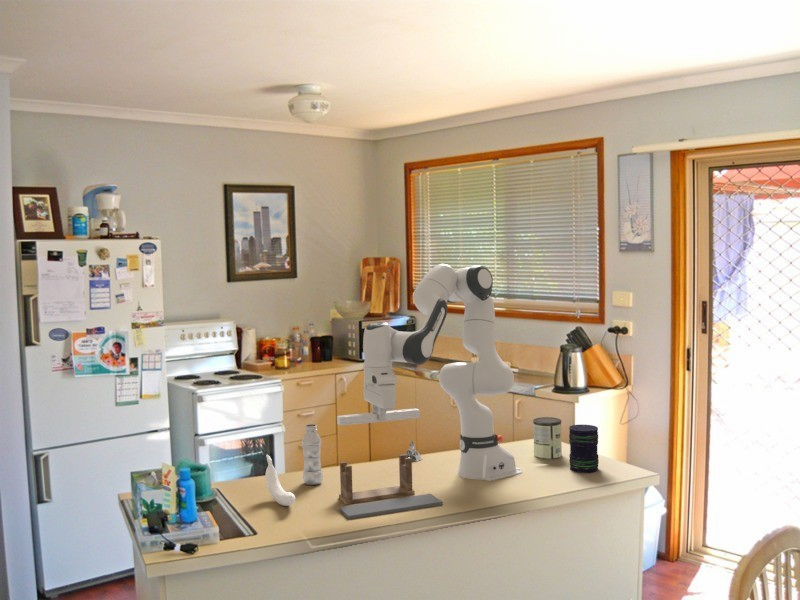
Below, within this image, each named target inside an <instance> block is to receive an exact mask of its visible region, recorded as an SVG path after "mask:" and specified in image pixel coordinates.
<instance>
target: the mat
mask: <svg viewBox="0 0 800 600" xmlns="http://www.w3.org/2000/svg"><path fill="white" fill-rule="evenodd" d="M443 503H444V502H443V500H440V499H439V498H438V497H436V496H434V494H432V493H426V494H419V495H410V496H406V497H405V496H403V497H396V498H390V499H385V500H384V499H383V500H376V501H369V502H365V503H364V502H363V503H356V504H349V505H343V506H339V507H338V511H339V512H341V514H342V515H343V516H344V517H345V518H346V519H347V520H355V519H359V518H365V517H366V518H368V517H372V516H379V515H386V514H393V513H398V512H399V513H400V512H405V511H412V510H420V509H423V508H424V509H425V508H431V507H432V508H433V507H437V506H443Z"/></svg>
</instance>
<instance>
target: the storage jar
mask: <svg viewBox="0 0 800 600" xmlns="http://www.w3.org/2000/svg"><path fill="white" fill-rule="evenodd" d="M568 429H569V434H568V439H569V440H568V442H569V449H570V450H569V455H568V456H569V459H568V460H569V470H570V471H571V472H574V473H580V474H592V473H596V472H598V471H599V454H598V444H599V432H598V431H599V427H598V426H596V425H592V424H573V425H570V426H569V428H568Z"/></svg>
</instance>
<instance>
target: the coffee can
mask: <svg viewBox="0 0 800 600" xmlns="http://www.w3.org/2000/svg"><path fill="white" fill-rule="evenodd" d="M532 423H533V456H534V458H537V459H540V460H541V459H542V460H549V461H550V460H557V459H561V458H562V457H563V455H562V454H563V453H562V451H563V450H562V419H560V418H558V417H554V416H553V417H549V416H543V417H535V418H533V420H532Z"/></svg>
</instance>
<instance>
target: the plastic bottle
mask: <svg viewBox="0 0 800 600" xmlns="http://www.w3.org/2000/svg"><path fill="white" fill-rule="evenodd" d="M304 431H305V434H304V435H303V436H302V439H301V447H302V451H303V472H302V481H303V483H304V484H305V485H308V486H316V485H320V484H322V482H323V479H324V478H323V476H324V475H323V470H322V464H321V448H322V439H321V436H320V435H319V434H318V432H317V431H318V427H317V424H313V423H310V424H306V425H305V430H304Z"/></svg>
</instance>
